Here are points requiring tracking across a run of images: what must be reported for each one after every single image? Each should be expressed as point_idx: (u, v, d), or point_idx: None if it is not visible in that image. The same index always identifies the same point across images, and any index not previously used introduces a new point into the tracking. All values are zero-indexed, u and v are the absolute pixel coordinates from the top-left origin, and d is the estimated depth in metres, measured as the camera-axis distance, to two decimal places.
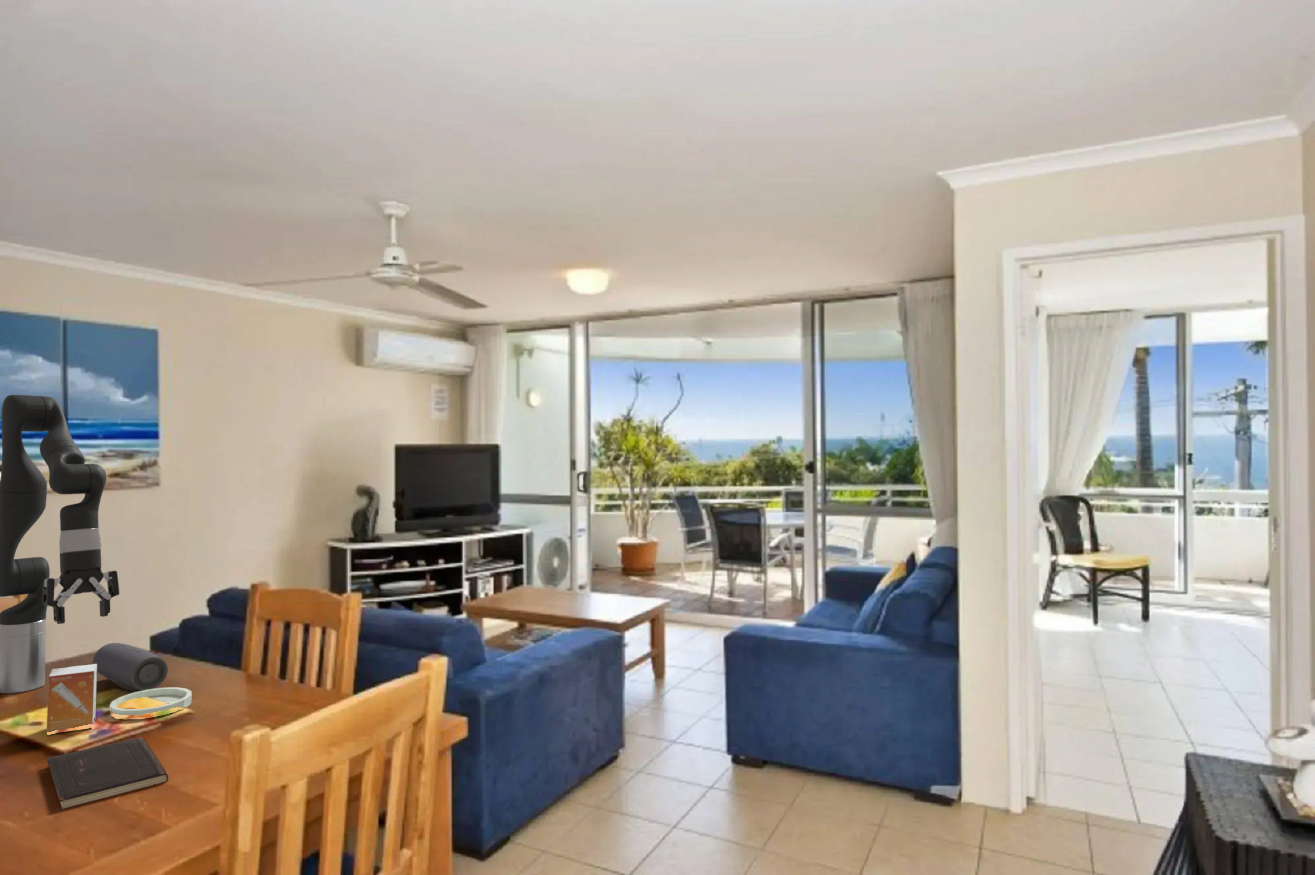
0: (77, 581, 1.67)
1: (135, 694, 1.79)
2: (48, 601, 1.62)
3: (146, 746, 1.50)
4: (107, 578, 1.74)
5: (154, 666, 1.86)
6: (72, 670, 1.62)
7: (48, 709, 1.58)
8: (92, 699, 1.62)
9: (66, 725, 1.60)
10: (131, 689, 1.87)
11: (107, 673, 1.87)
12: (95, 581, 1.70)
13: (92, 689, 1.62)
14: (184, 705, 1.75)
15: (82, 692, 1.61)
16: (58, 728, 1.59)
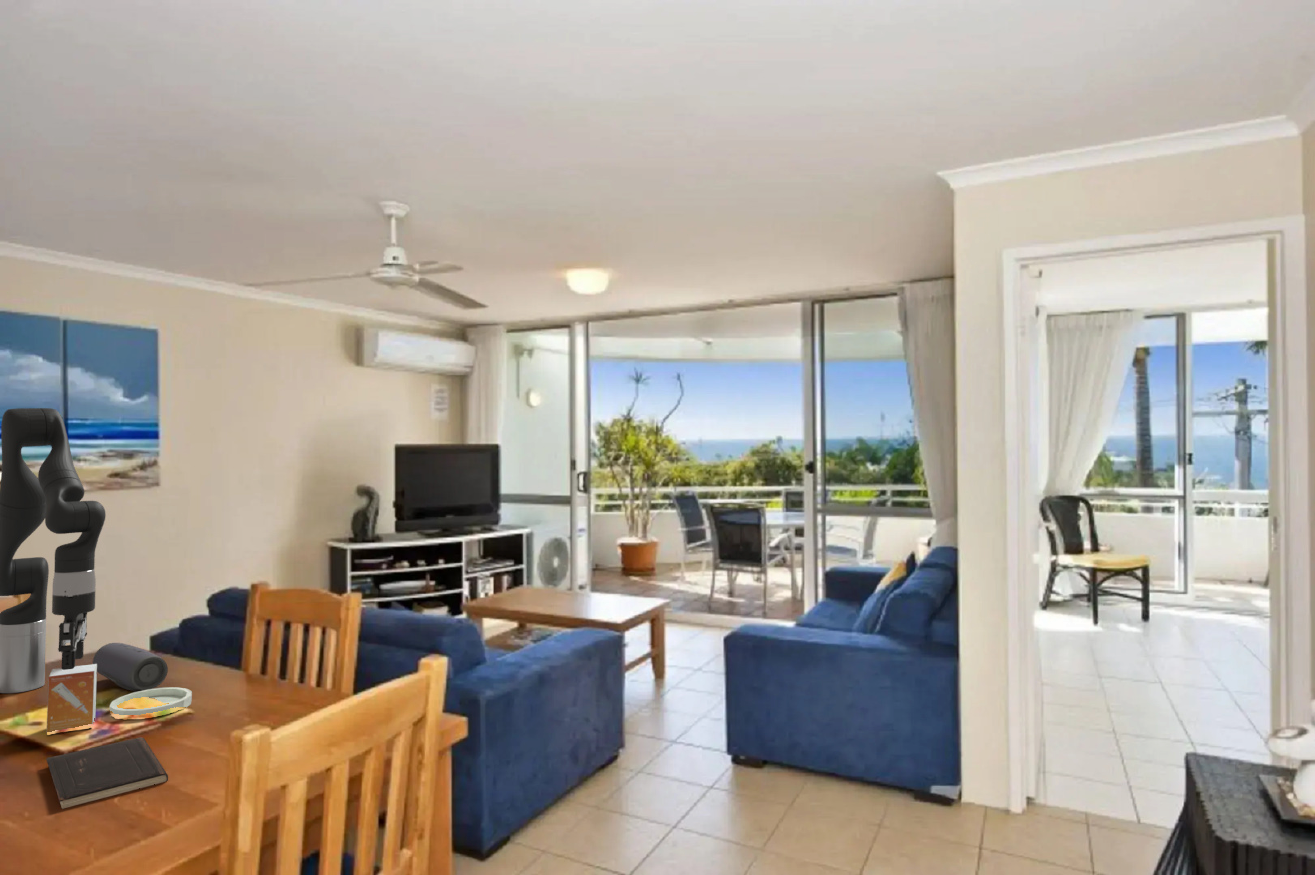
0: (83, 624, 1.62)
1: (135, 694, 1.79)
2: (73, 646, 1.57)
3: (146, 746, 1.50)
4: None
5: (154, 666, 1.86)
6: (72, 670, 1.62)
7: (48, 709, 1.58)
8: (92, 699, 1.62)
9: (66, 725, 1.60)
10: (131, 689, 1.87)
11: (107, 673, 1.87)
12: (86, 623, 1.65)
13: (92, 689, 1.62)
14: (184, 705, 1.75)
15: (82, 692, 1.61)
16: (58, 728, 1.59)
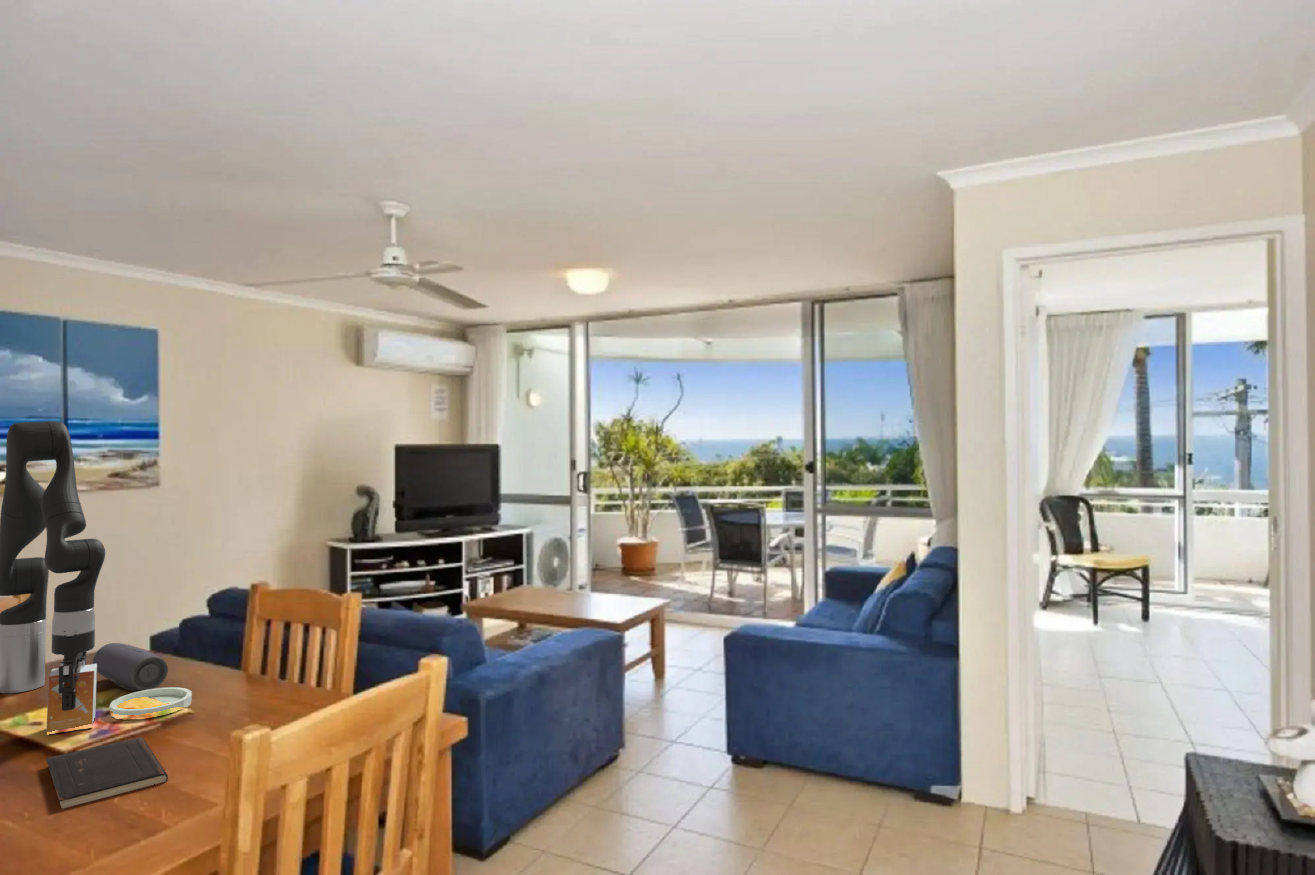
0: (82, 663, 1.62)
1: (135, 694, 1.79)
2: (73, 688, 1.58)
3: (145, 746, 1.50)
4: None
5: (154, 666, 1.86)
6: None
7: (48, 709, 1.58)
8: (92, 699, 1.62)
9: (66, 725, 1.60)
10: (131, 689, 1.87)
11: (107, 673, 1.87)
12: (85, 661, 1.65)
13: (92, 689, 1.62)
14: (184, 705, 1.75)
15: (82, 692, 1.61)
16: (58, 728, 1.59)
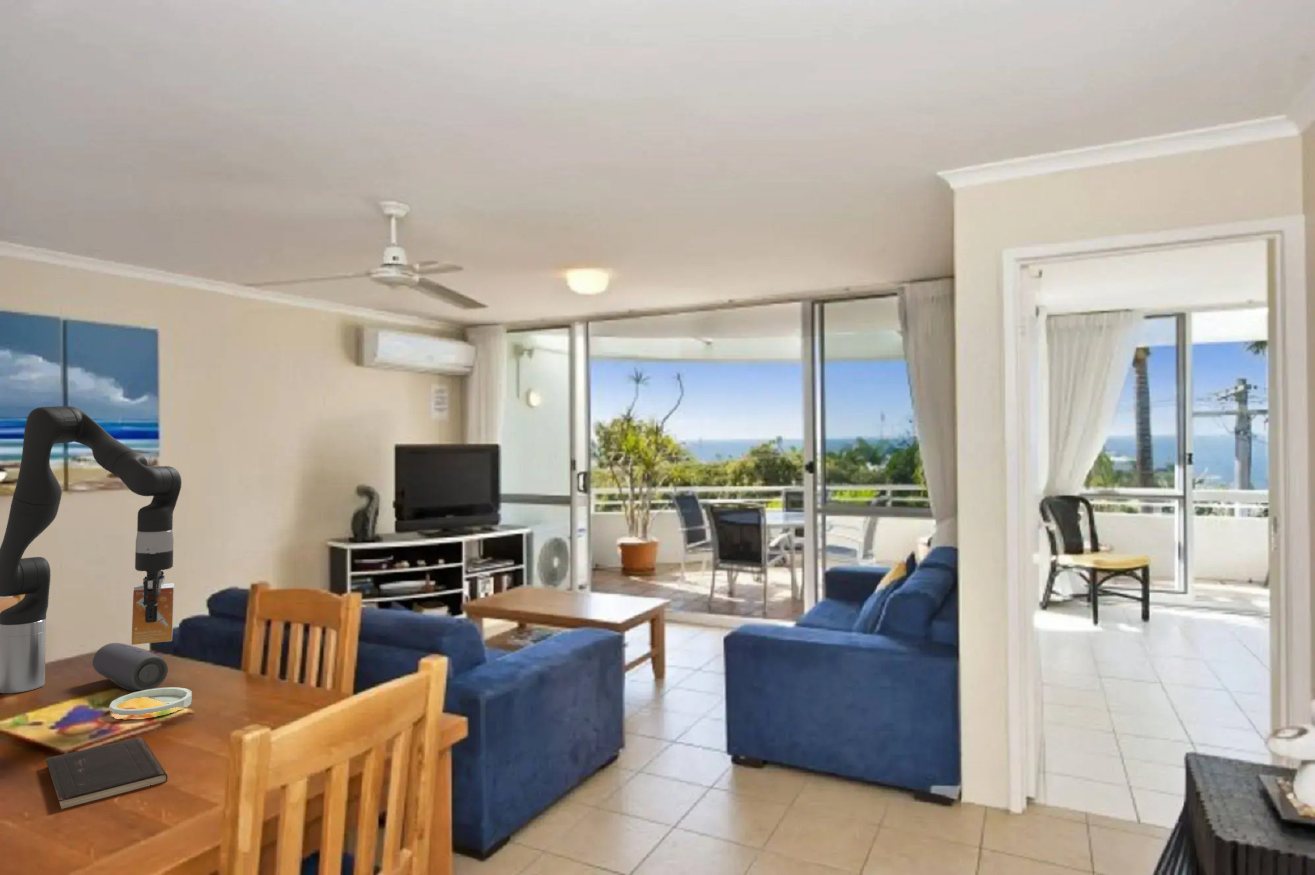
0: (162, 580, 1.75)
1: (135, 694, 1.79)
2: (156, 601, 1.71)
3: (145, 746, 1.50)
4: None
5: (154, 666, 1.86)
6: None
7: (133, 620, 1.71)
8: (172, 613, 1.75)
9: (149, 636, 1.73)
10: (131, 689, 1.87)
11: (107, 673, 1.87)
12: None
13: (172, 604, 1.75)
14: (184, 705, 1.75)
15: (163, 607, 1.74)
16: (141, 638, 1.72)
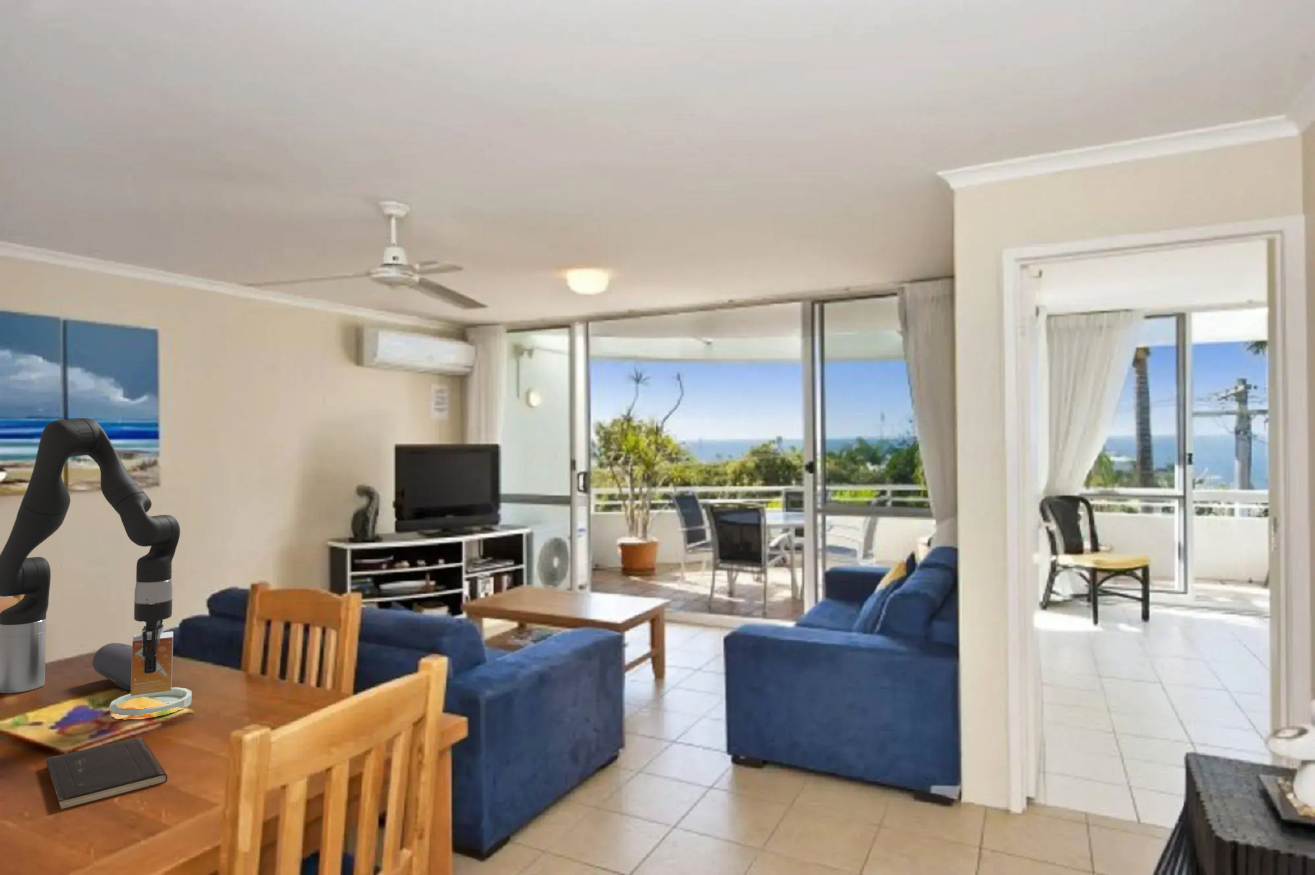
0: (161, 629, 1.75)
1: None
2: (155, 652, 1.71)
3: (145, 746, 1.50)
4: None
5: None
6: None
7: (132, 671, 1.71)
8: (171, 663, 1.75)
9: (148, 687, 1.73)
10: None
11: (107, 673, 1.87)
12: None
13: (171, 654, 1.75)
14: (184, 705, 1.75)
15: (162, 657, 1.74)
16: (141, 689, 1.72)
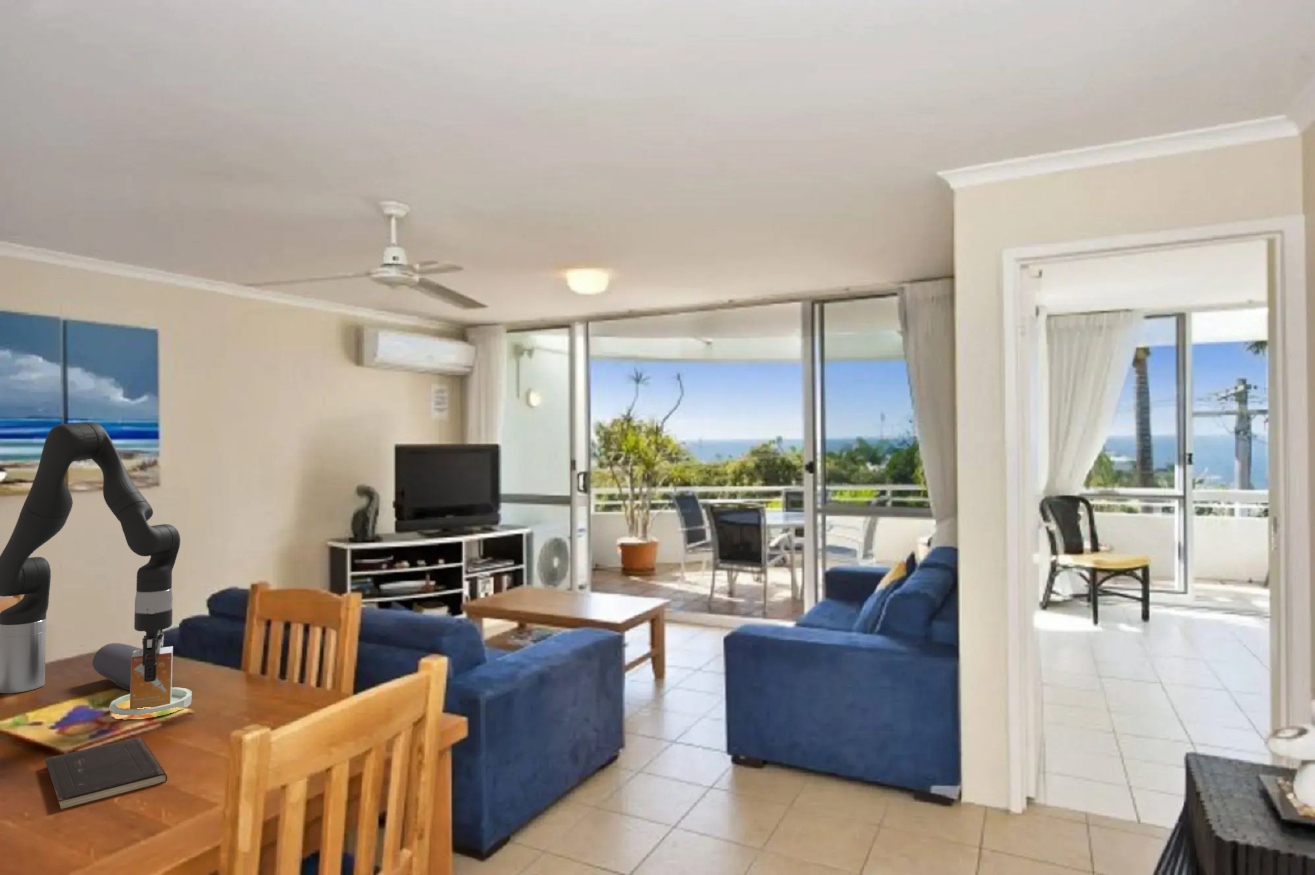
0: (162, 639, 1.75)
1: None
2: (155, 660, 1.70)
3: (144, 746, 1.50)
4: None
5: None
6: None
7: (131, 687, 1.71)
8: (170, 679, 1.75)
9: (147, 703, 1.73)
10: None
11: (107, 673, 1.87)
12: (163, 637, 1.78)
13: (170, 669, 1.75)
14: (184, 705, 1.75)
15: (161, 672, 1.74)
16: (140, 705, 1.72)
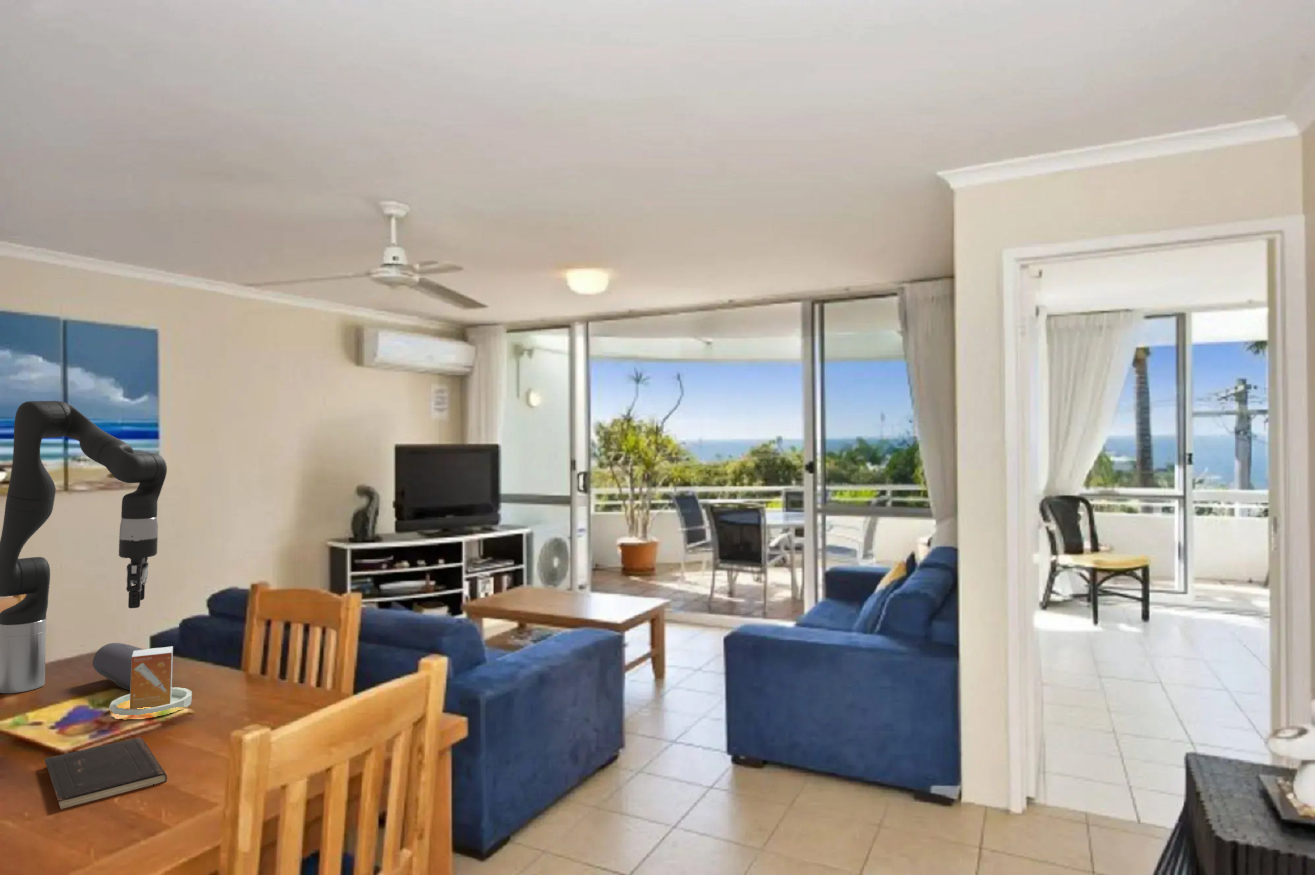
0: (146, 567, 1.75)
1: None
2: (139, 586, 1.70)
3: (144, 746, 1.49)
4: None
5: None
6: (152, 651, 1.75)
7: (131, 687, 1.71)
8: (170, 679, 1.75)
9: (147, 703, 1.73)
10: None
11: (107, 673, 1.88)
12: None
13: (170, 669, 1.75)
14: (184, 705, 1.75)
15: (161, 672, 1.74)
16: (140, 705, 1.72)
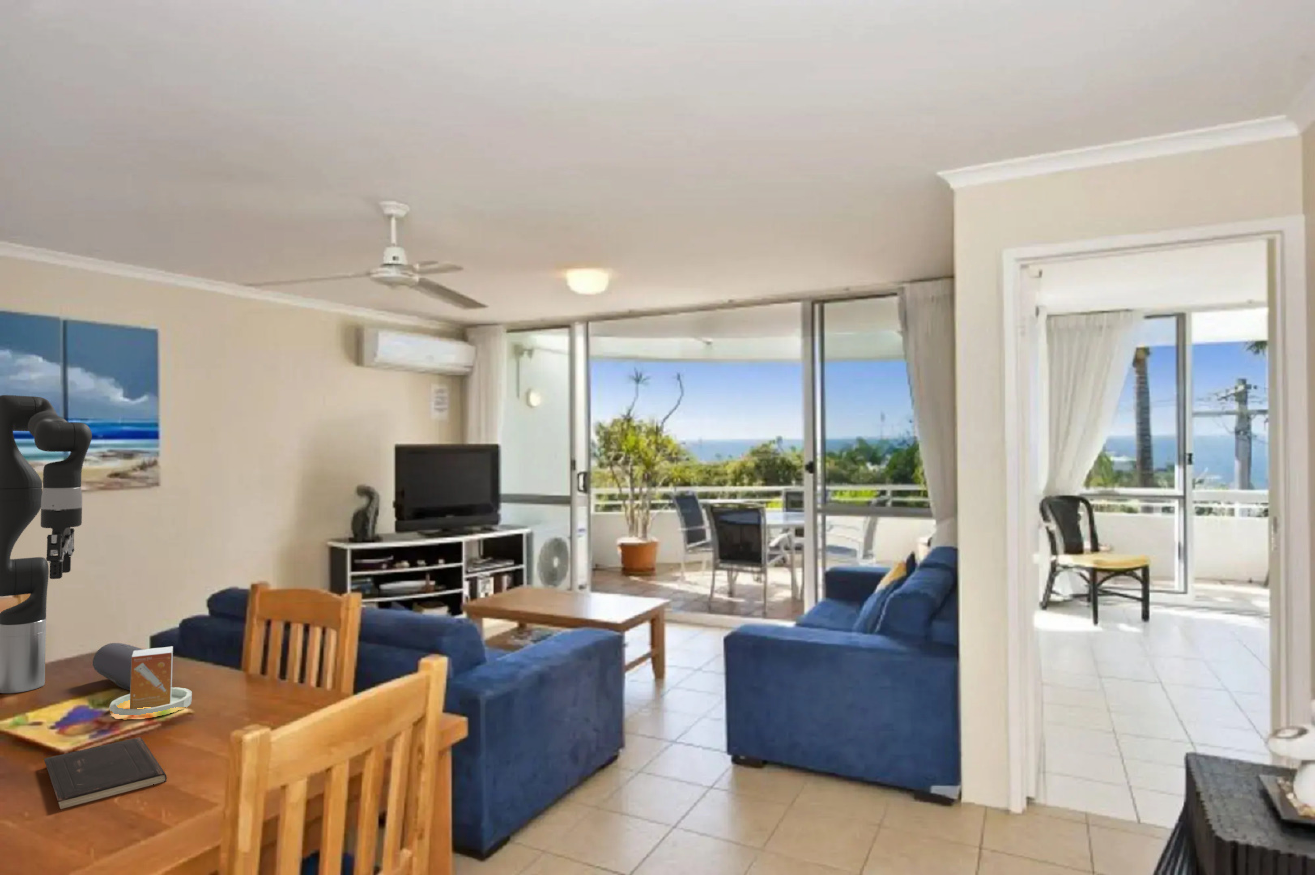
0: (70, 537, 1.72)
1: None
2: (60, 556, 1.67)
3: (144, 746, 1.49)
4: None
5: None
6: (152, 651, 1.75)
7: (131, 687, 1.71)
8: (170, 679, 1.75)
9: (147, 703, 1.73)
10: None
11: (107, 673, 1.87)
12: (73, 538, 1.75)
13: (170, 669, 1.75)
14: (184, 705, 1.75)
15: (161, 672, 1.74)
16: (140, 705, 1.72)
